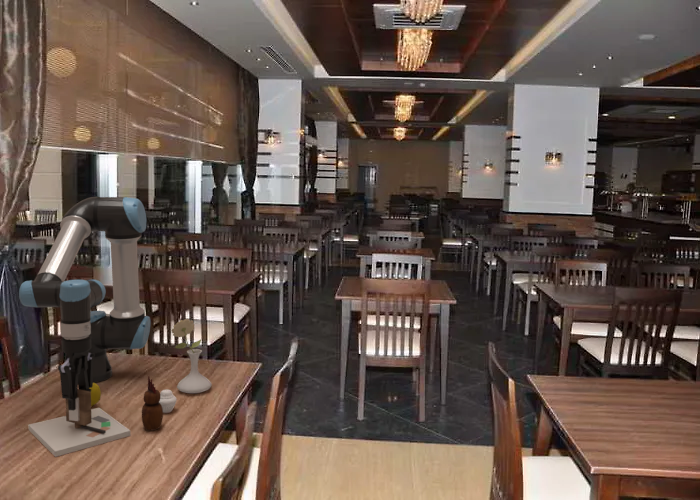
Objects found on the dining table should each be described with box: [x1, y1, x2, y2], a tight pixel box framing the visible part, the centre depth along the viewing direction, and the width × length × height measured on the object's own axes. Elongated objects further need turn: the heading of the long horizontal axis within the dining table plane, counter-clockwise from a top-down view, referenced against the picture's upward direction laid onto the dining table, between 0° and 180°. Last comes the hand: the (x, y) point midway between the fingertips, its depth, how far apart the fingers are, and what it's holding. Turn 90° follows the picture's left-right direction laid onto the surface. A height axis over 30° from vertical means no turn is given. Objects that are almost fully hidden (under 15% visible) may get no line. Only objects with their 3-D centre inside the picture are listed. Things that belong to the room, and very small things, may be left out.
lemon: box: [89, 382, 102, 408], centre depth 191 cm, size 6×6×8 cm
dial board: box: [27, 407, 132, 458], centre depth 173 cm, size 20×22×2 cm
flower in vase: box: [171, 318, 212, 394], centre depth 206 cm, size 13×11×25 cm
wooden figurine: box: [141, 375, 164, 431], centre depth 176 cm, size 7×6×15 cm
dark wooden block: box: [65, 388, 106, 434], centre depth 171 cm, size 2×13×10 cm, turn 66°
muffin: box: [159, 389, 178, 414], centre depth 189 cm, size 6×6×7 cm
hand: (78, 417), depth 172 cm, fingers closed on dark wooden block, 3 cm apart
